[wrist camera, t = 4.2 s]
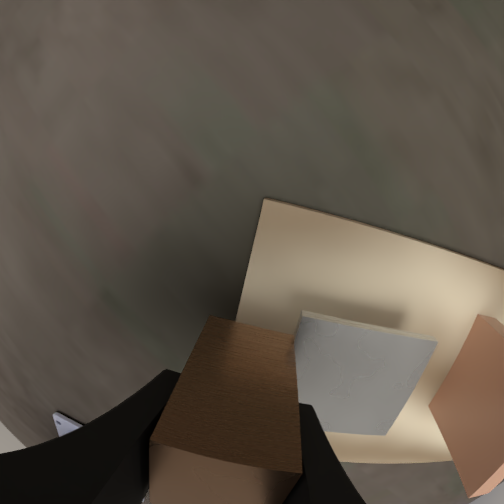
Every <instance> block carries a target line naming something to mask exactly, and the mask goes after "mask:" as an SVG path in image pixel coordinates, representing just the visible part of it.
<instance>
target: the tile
mask: <svg viewBox="0 0 504 504" xmlns="http://www.w3.org/2000/svg"><path fill="white" fill-rule="evenodd" d="M428 407H429V409H430V411H431V413H432V415H433V417H434V419H435V421H436V423H437V425H438V428H439V430H440V432H441V434H442V436H443V438H444V441H445V443H446V445H447V447H448V450H449V452H450V454H451V457H452V459H453V461H454V464H455V466H456V468H457V471H458V473H459V476H460V478H461V480H462V483H463V485H464V488H465V491H466V493H467V496H468V498H471V497H475V496H479V495H483V494H486V493H489V492H490V491H491V490H493V488H495V487H496V486H497V485H498V484H499V483H500V482H501V481H502V480H503V479H504V325H503V324H502V323H501V322H499V321H498V320H497V319H496V318H493V317H489V316H484V315H480V314H477V317H476V319H475V321H474V323H473V326H472V328H471V330H470V332H469V334H468V336H467V338H466V340H465V342H464V344H463V346H462V348H461V350H460V352H459V354H458V356H457V358H456V360H455V362H454V363H453V365H452V367H451V369H450V371H449V372H448V374H447V376H446V378H445V379H444V381H443V383H442V384H441V386H440V388H439V389H438V391H437V393H436V394H435V396H434V397H433V399H432V401H431V402H430V404H429V405H428Z"/></svg>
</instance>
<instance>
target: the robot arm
mask: <svg viewBox="0 0 504 504" xmlns="http://www.w3.org/2000/svg"><path fill="white" fill-rule="evenodd" d="M180 375H181V373H178V372H174V371H171V370H168V369H166V370H163V371H162V372H161V373H160V374H159V375H157V376H156V377H155V378H154V379H153V380H151V381H150V382H149V383H148V384H146V385H145V386H144V387H143V388H141V389H140V390H139V391H137V392H136V393H135V394H133V395H132V396H130V397H129V398H128V399H126V400H125V401H123V402H122V403H120V404H119V405H118V406H116V407H114V408H113V409H111V410H110V411H108V412H106V413H105V414H103V415H101V416H100V417H98V418H96V419H95V420H93V421H91V422H89V423H87V424H86V425H84V426H83V425H81V424H79V423H77V422H75V421H73V420H71V419H69V418H67V417H65V416H64V415H62V414H60V413H58V412H55V413H54V414H53V418H54V421H55V425H56V428H57V431H58V434H59V437H57V438H55V439H52V440H49V441H47V442H44V443H41V444H38V445H35V446H32V447H28V448H25V449H21V450H17V451H12V452H7V453H2V454H0V504H141V503H142V502H143V501H144V499H145V498H144V497H145V495H146V493H147V491H148V489H149V443H150V438H151V436H152V434H153V432H154V429H155V427H156V425H157V423H158V421H159V419H160V417H161V415H162V413H163V411H164V409H165V407H166V404H167V402H168V400H169V398H170V396H171V394H172V392H173V390H174V388H175V386H176V384H177V382H178V380H179V377H180ZM299 417H300V434H301V453H302V475H301V476H300V478H299V480H298V481H297V483H296V484H295V486H294V487H293V489H292V490H291V492H290V493H289V494H288V496H287V497H286V499H285V500H284V502H283V503H282V504H366V503H365V502H364V500H363V499H362V497H361V496H360V494H359V493H358V492H357V490H356V489H355V487H354V485H353V484H352V482H351V481H350V479H349V477H348V476H347V474H346V472H345V471H344V469H343V467H342V466H341V464H340V462H339V460H338V458H337V456H336V454H335V453H334V451H333V449H332V447H331V445H330V443H329V441H328V439H327V436H326V434H325V432H324V430H323V428H322V426H321V424H320V421H319V419H318V417H317V414H316V412H315V410H314V408H313V406H312V405H309V404H304V403H299Z"/></svg>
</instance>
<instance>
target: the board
mask: <svg viewBox="0 0 504 504" xmlns="http://www.w3.org/2000/svg"><path fill="white" fill-rule="evenodd" d="M301 310H304V311H309V312H314V313H318V314H323V315H327V316H332V317H337V318H342V319H346V320H351V321H356V322H361V323H366V324H371V325H376V326H382V327H387V328H392V329H398V330H403V331H408V332H414V333H420V334H425V335H431V336H434V337H435V338H436V340H437V341H438V344H437V346H436V348H435V350H434V352H433V354H432V356H431V358H430V360H429V362H428V364H427V366H426V368H425V370H424V372H423V374H422V376H421V377H420V379H419V381H418V383H417V385H416V387H415V388H414V390H413V392H412V394H411V395H410V397H409V399H408V401H407V402H406V404H405V406H404V407H403V409H402V411H401V412H400V414H399V415H398V417H397V419H396V420H395V422H394V423H393V425H392V426H391V428H390V429H389V431H388V432H387V434H386V435H385V436H380V435H361V434H347V433H336V432H327V431H324V432H325V434H326V436H327V439H328V441H329V443H330V445H331V447H332V449H333V451H334V453H335V454H336V456H337V458H338V460H339V461H342V462H358V463H424V462H439V461H450V460H453V459H452V457H451V454H450V452H449V450H448V447H447V445H446V443H445V441H444V438H443V436H442V434H441V432H440V430H439V428H438V425H437V423H436V421H435V419H434V417H433V415H432V413H431V411H430V409H429V407H428V405H429V404H430V402H431V401H432V399H433V397H434V396H435V394H436V393H437V391H438V389H439V388H440V386H441V384H442V383H443V381H444V379H445V378H446V376H447V374H448V372H449V371H450V369H451V367H452V365H453V363H454V362H455V360H456V358H457V356H458V354H459V352H460V350H461V348H462V346H463V344H464V342H465V340H466V338H467V336H468V334H469V332H470V330H471V328H472V326H473V323H474V321H475V319H476V317H477V314H480V315H484V316H489V317H493V318H496V319H497V320H498V321H499V322H501V323H502V324H503V325H504V269H502V268H500V267H497V266H494V265H492V264H489V263H486V262H483V261H481V260H478V259H475V258H472V257H469V256H466V255H463V254H460V253H458V252H455V251H452V250H449V249H446V248H443V247H440V246H437V245H434V244H430V243H427V242H424V241H421V240H418V239H415V238H412V237H408V236H405V235H402V234H399V233H395V232H392V231H389V230H385V229H382V228H379V227H375V226H372V225H368V224H365V223H361V222H358V221H354V220H351V219H347V218H344V217H340V216H336V215H333V214H329V213H325V212H322V211H318V210H314V209H310V208H306V207H303V206H299V205H295V204H291V203H287V202H283V201H279V200H275V199H271V198H266V197H265V198H264V201H263V206H262V210H261V214H260V218H259V223H258V227H257V231H256V236H255V240H254V244H253V248H252V253H251V257H250V261H249V265H248V270H247V274H246V278H245V282H244V287H243V291H242V295H241V299H240V304H239V308H238V312H237V317H236V321H235V322H239V323H243V324H247V325H252V326H256V327H260V328H264V329H269V330H273V331H278V332H282V333H287V334H291V335H294V332H295V329H296V326H297V323H298V319H299V316H300V313H301Z"/></svg>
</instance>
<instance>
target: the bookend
mask: <svg viewBox="0 0 504 504" xmlns="http://www.w3.org/2000/svg"><path fill="white" fill-rule="evenodd" d="M437 344H438V341H437V340H436V338H435V337H434V336H431V335H425V334H420V333H414V332H408V331H403V330H398V329H392V328H387V327H382V326H376V325H371V324H366V323H361V322H356V321H351V320H346V319H342V318H337V317H332V316H327V315H323V314H318V313H314V312H309V311H304V310H301V313H300V316H299V319H298V323H297V326H296V329H295V332H294V335H291V334H287V333H282V332H278V331H273V330H269V329H264V328H260V327H256V326H252V325H247V324H243V323H239V322H235V321H231V320H227V319H223V318H219V317H215V316H212V315H210V316H209V318H208V320H207V322H206V324H205V326H204V328H203V330H202V332H201V334H200V336H199V338H198V340H197V342H196V345H195V347H194V349H193V351H192V353H191V355H190V357H189V359H188V361H187V363H186V365H185V367H184V369H183V371H182V373H181V375H180V377H179V380H178V382H177V384H176V386H175V388H174V390H173V392H172V394H171V396H170V398H169V400H168V402H167V404H166V407H165V409H164V411H163V413H162V415H161V417H160V419H159V421H158V423H157V425H156V427H155V429H154V432H153V434H152V436H151V438H150V443H149V493H150V503H153V504H282V503H283V502H284V500H285V499H286V497H287V496H288V494H289V493H290V492H291V490H292V489H293V487H294V486H295V484H296V483H297V481H298V480H299V478H300V476H301V475H302V453H301V434H300V417H299V403H304V404H309V405H312V406H313V408H314V410H315V412H316V414H317V417H318V419H319V421H320V424H321V426H322V428H323V430H324V431H327V432H336V433H347V434H361V435H380V436H385V435H386V434H387V432H388V431H389V429H390V428H391V426H392V425H393V423H394V422H395V420H396V419H397V417H398V415H399V414H400V412H401V411H402V409H403V407H404V406H405V404H406V402H407V401H408V399H409V397H410V395H411V394H412V392H413V390H414V388H415V387H416V385H417V383H418V381H419V379H420V377H421V376H422V374H423V372H424V370H425V368H426V366H427V364H428V362H429V360H430V358H431V356H432V354H433V352H434V350H435V348H436V346H437Z"/></svg>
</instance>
